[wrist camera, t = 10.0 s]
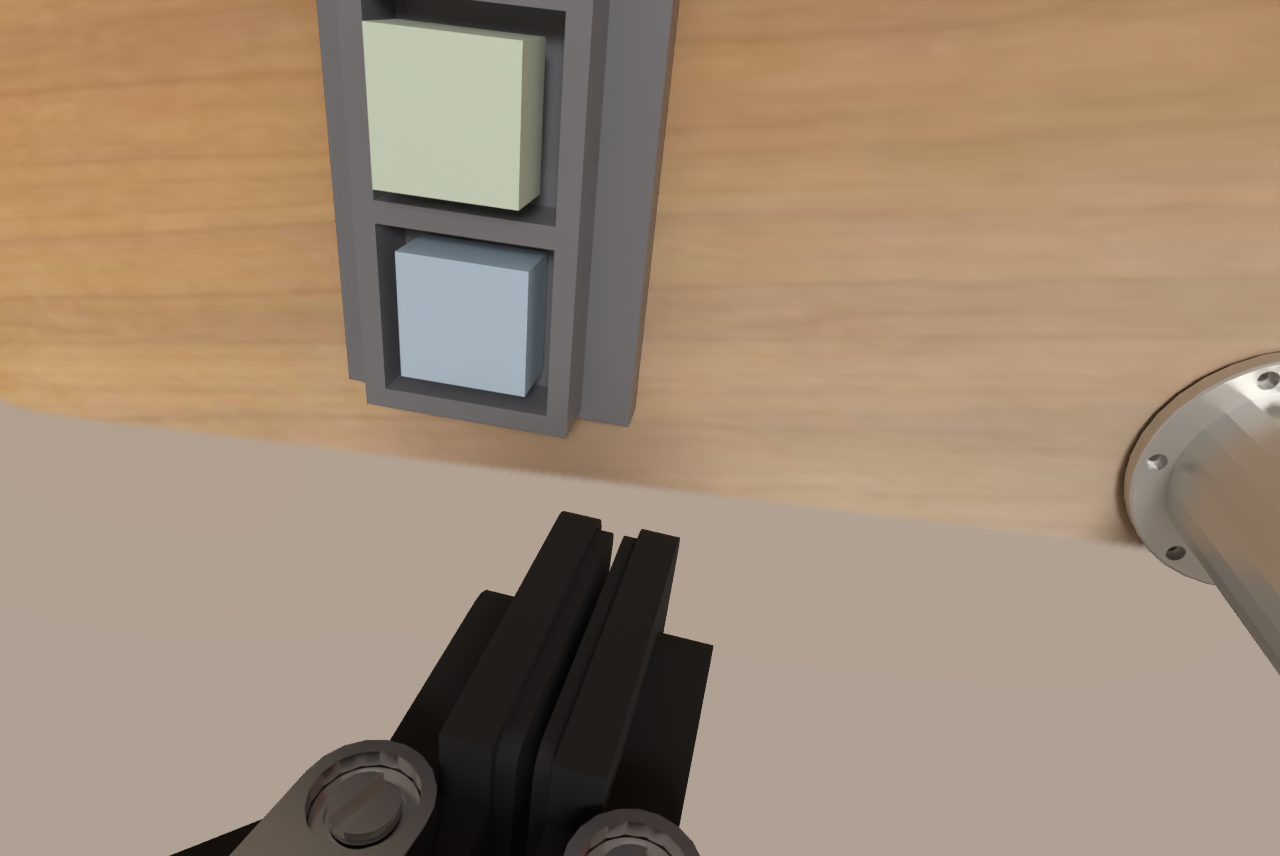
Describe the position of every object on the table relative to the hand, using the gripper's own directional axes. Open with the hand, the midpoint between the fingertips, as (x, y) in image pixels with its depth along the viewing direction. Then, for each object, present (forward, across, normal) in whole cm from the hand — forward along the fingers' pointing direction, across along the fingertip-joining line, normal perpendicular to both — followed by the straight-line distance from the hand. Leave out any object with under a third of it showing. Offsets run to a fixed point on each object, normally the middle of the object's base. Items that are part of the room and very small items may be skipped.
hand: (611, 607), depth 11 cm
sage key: (+24, +12, -3) cm, 27 cm away
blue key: (+26, +12, +6) cm, 29 cm away
